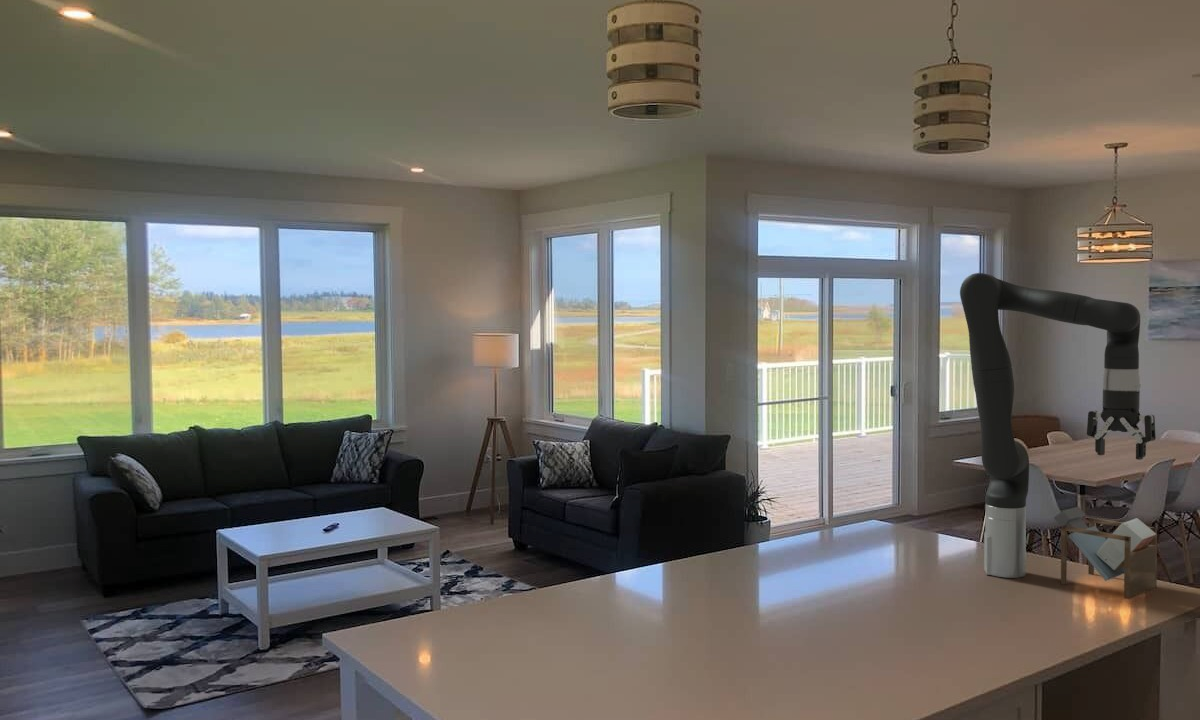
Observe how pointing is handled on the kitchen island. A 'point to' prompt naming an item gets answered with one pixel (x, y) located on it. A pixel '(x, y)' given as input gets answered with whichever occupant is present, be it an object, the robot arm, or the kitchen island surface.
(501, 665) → the kitchen island surface
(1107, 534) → the trapdoor frame
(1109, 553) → the small box
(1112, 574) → the trapdoor
